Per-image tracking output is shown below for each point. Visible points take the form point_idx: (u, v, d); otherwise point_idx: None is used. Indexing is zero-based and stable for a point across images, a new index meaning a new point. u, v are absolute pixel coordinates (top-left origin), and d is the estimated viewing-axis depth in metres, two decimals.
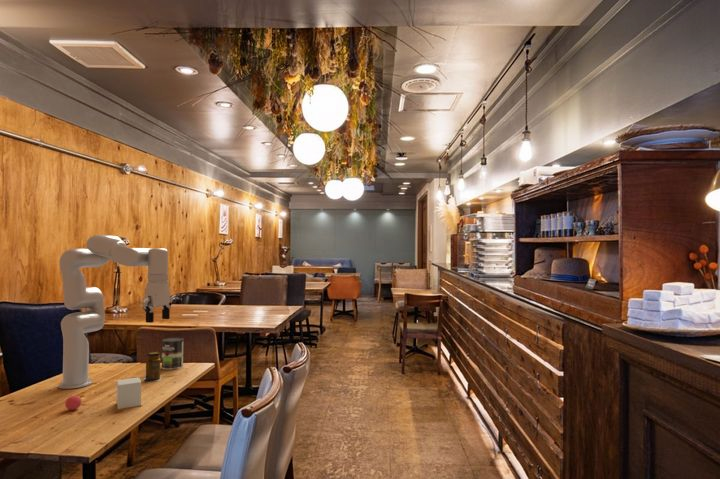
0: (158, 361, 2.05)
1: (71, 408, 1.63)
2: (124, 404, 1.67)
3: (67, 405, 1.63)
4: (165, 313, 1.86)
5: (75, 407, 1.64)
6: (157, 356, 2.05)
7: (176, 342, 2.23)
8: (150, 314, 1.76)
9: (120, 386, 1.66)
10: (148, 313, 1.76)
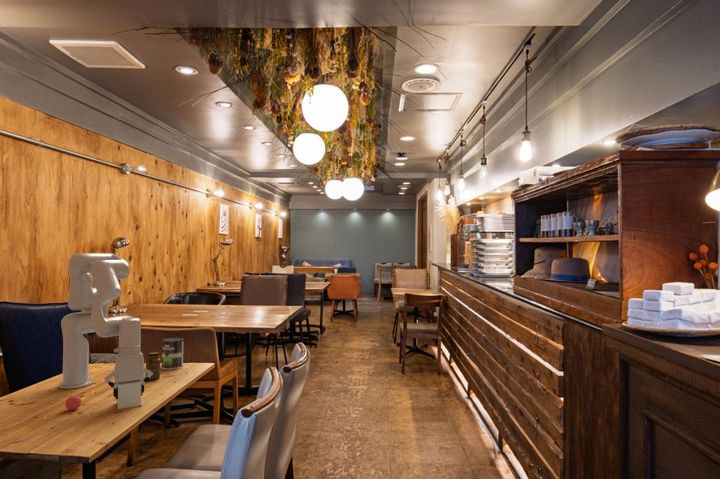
0: (158, 361, 2.05)
1: (71, 408, 1.63)
2: (124, 404, 1.67)
3: (67, 405, 1.63)
4: None
5: (75, 407, 1.64)
6: (157, 356, 2.05)
7: (176, 342, 2.23)
8: None
9: (120, 386, 1.66)
10: (143, 384, 1.74)
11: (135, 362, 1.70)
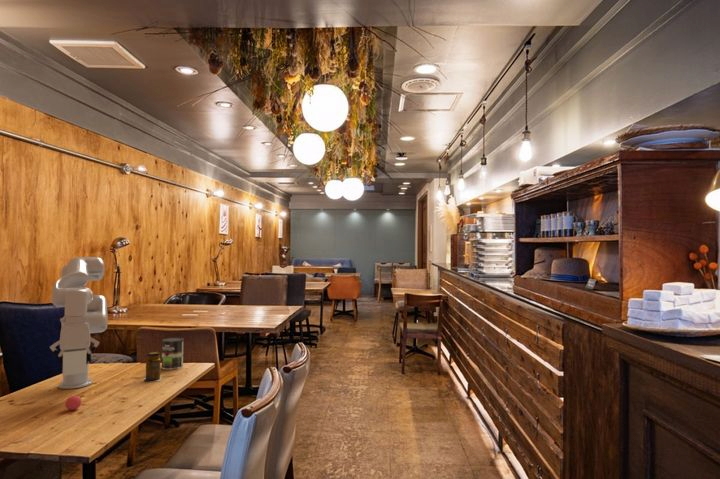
0: (158, 361, 2.05)
1: (71, 408, 1.63)
2: (69, 371, 1.72)
3: (67, 405, 1.63)
4: None
5: (75, 407, 1.64)
6: (157, 356, 2.05)
7: (176, 342, 2.23)
8: None
9: (65, 353, 1.72)
10: (90, 353, 1.79)
11: (80, 331, 1.76)
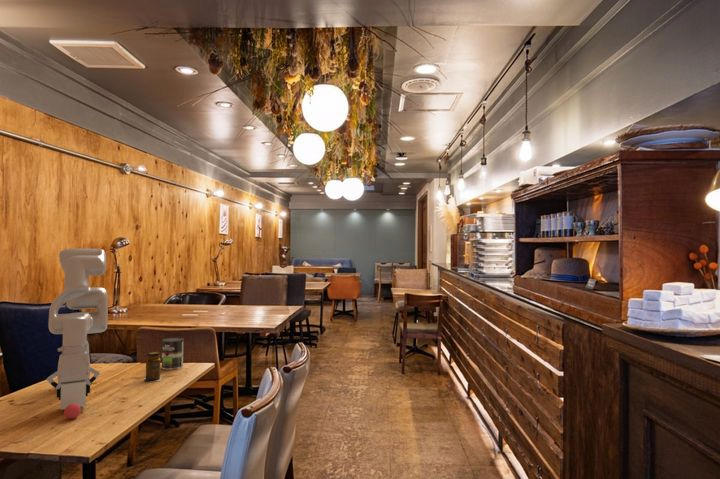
0: (158, 361, 2.05)
1: (70, 404, 1.57)
2: (67, 405, 1.62)
3: None
4: None
5: None
6: (157, 356, 2.05)
7: (176, 342, 2.23)
8: None
9: (63, 386, 1.61)
10: (90, 384, 1.69)
11: (80, 362, 1.65)
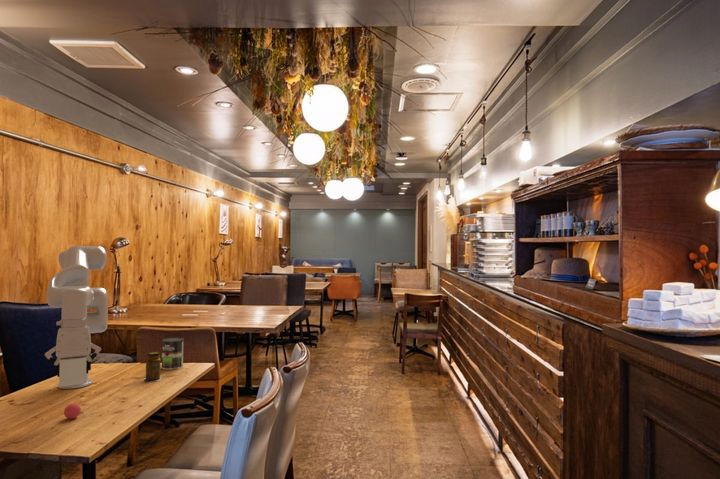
0: (158, 361, 2.05)
1: (70, 404, 1.57)
2: (66, 382, 1.51)
3: None
4: None
5: None
6: (157, 356, 2.05)
7: (176, 342, 2.23)
8: None
9: (62, 362, 1.50)
10: (90, 361, 1.58)
11: (80, 336, 1.54)
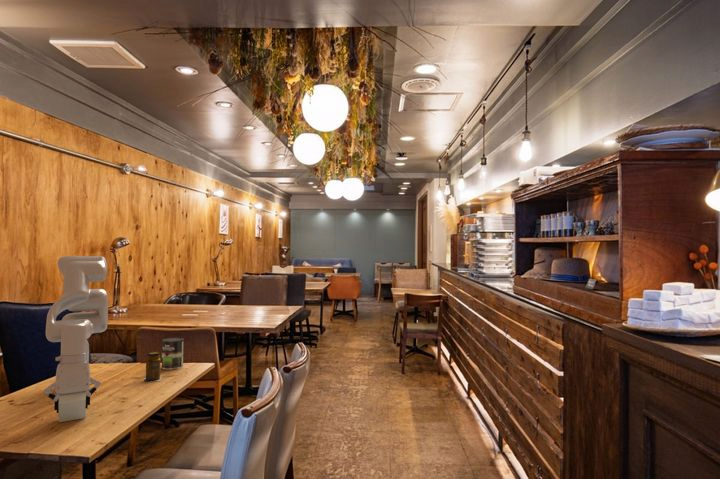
0: (158, 361, 2.05)
1: None
2: (66, 418, 1.53)
3: None
4: None
5: None
6: (157, 356, 2.05)
7: (176, 342, 2.23)
8: None
9: (61, 404, 1.49)
10: None
11: (79, 371, 1.54)
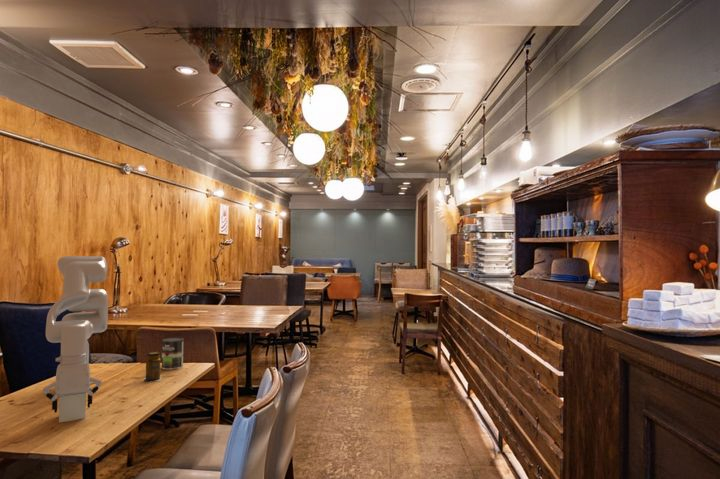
0: (158, 361, 2.05)
1: None
2: (66, 417, 1.53)
3: None
4: None
5: None
6: (157, 356, 2.05)
7: (176, 342, 2.23)
8: None
9: (61, 398, 1.53)
10: None
11: (79, 372, 1.54)
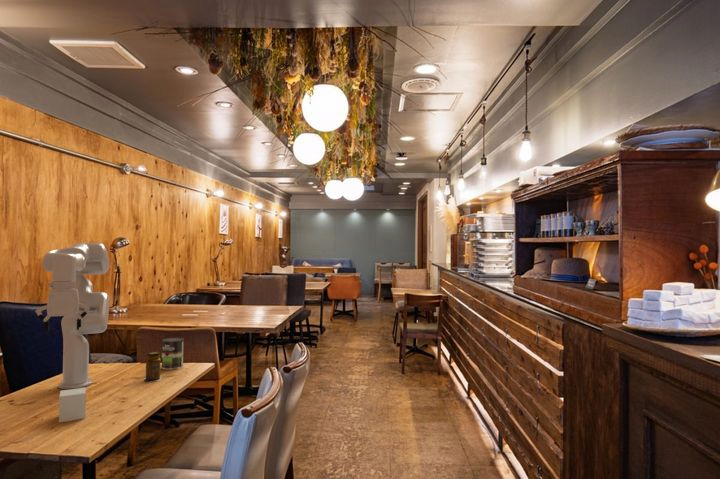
0: (158, 361, 2.05)
1: None
2: (66, 417, 1.53)
3: None
4: None
5: None
6: (157, 356, 2.05)
7: (176, 342, 2.23)
8: None
9: (61, 398, 1.53)
10: (81, 319, 1.74)
11: (69, 297, 1.70)
